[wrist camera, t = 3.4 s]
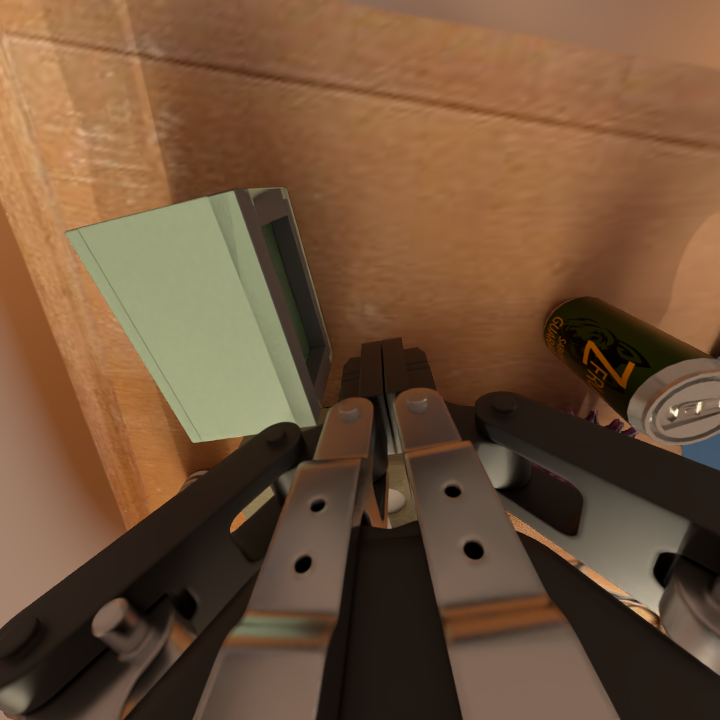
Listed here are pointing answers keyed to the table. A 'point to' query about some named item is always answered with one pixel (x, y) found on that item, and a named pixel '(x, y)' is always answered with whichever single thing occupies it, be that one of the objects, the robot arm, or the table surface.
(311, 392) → the pale green open box
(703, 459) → the block
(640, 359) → the beer can
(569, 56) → the table surface
